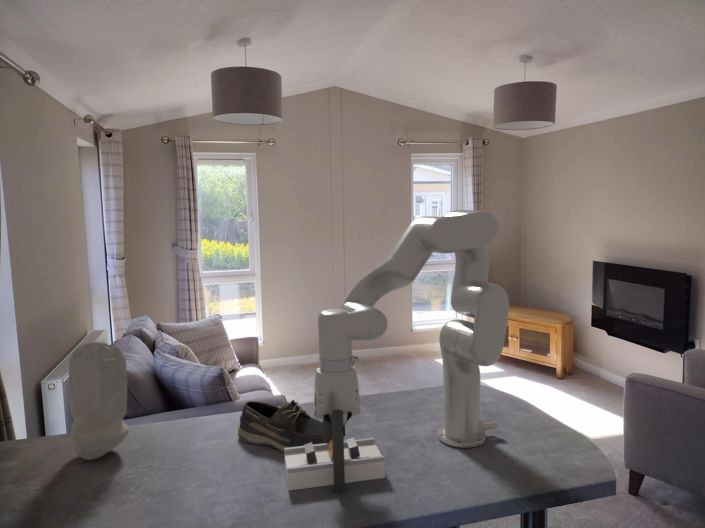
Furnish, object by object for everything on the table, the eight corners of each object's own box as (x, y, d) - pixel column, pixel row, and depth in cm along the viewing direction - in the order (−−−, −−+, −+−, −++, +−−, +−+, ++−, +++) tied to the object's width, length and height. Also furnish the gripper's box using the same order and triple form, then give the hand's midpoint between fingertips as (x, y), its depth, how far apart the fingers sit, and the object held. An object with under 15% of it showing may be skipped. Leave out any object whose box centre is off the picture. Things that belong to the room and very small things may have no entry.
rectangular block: (336, 450, 121) (338, 440, 121) (339, 459, 117) (341, 449, 116) (328, 450, 121) (329, 440, 120) (331, 459, 116) (333, 448, 116)
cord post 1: (332, 454, 128) (330, 385, 126) (334, 459, 125) (332, 388, 123) (323, 455, 127) (321, 386, 125) (324, 460, 125) (322, 389, 123)
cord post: (343, 486, 113) (341, 408, 111) (345, 492, 111) (343, 413, 109) (333, 488, 113) (330, 410, 111) (335, 493, 110) (332, 414, 108)
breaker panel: (374, 456, 126) (373, 437, 126) (384, 477, 116) (384, 457, 116) (285, 467, 122) (284, 448, 121) (288, 490, 112) (287, 469, 111)
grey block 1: (314, 451, 120) (312, 442, 120) (317, 460, 116) (314, 450, 115) (306, 454, 120) (303, 444, 119) (308, 463, 115) (305, 453, 115)
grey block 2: (356, 446, 122) (353, 437, 121) (360, 455, 118) (357, 445, 117) (348, 449, 122) (345, 439, 121) (351, 458, 117) (349, 448, 117)
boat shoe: (331, 460, 125) (330, 419, 124) (227, 446, 134) (225, 407, 133) (345, 441, 135) (344, 402, 134) (248, 428, 144) (246, 392, 143)
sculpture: (62, 471, 123) (51, 350, 119) (77, 448, 134) (67, 337, 131) (129, 463, 126) (120, 345, 122) (138, 441, 137) (130, 333, 134)
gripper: (364, 355, 121) (366, 429, 124) (301, 361, 118) (304, 436, 121) (371, 365, 114) (373, 443, 116) (305, 371, 111) (308, 451, 113)
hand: (338, 439), depth 118 cm, fingers closed
